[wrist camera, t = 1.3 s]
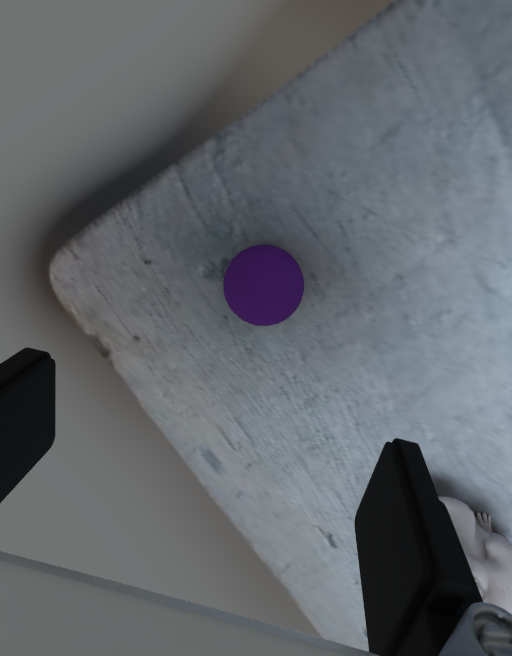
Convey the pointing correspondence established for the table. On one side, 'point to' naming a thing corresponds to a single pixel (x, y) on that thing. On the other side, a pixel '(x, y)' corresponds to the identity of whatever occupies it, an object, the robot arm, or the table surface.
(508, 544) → the figurine
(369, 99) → the table surface
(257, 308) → the ball
